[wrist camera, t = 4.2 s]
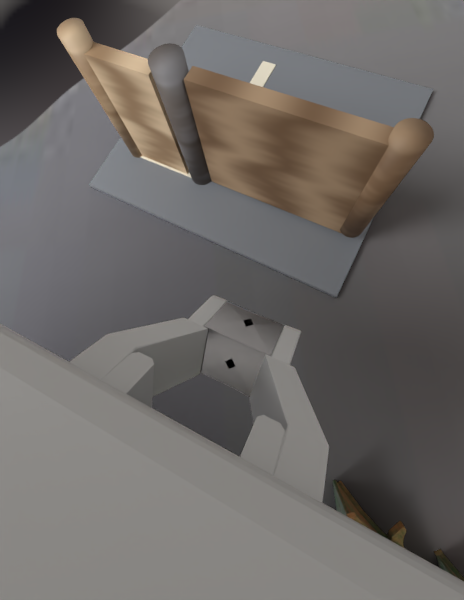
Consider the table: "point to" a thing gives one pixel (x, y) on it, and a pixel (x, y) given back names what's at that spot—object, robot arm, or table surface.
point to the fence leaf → (301, 151)
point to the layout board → (241, 208)
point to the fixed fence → (142, 99)
